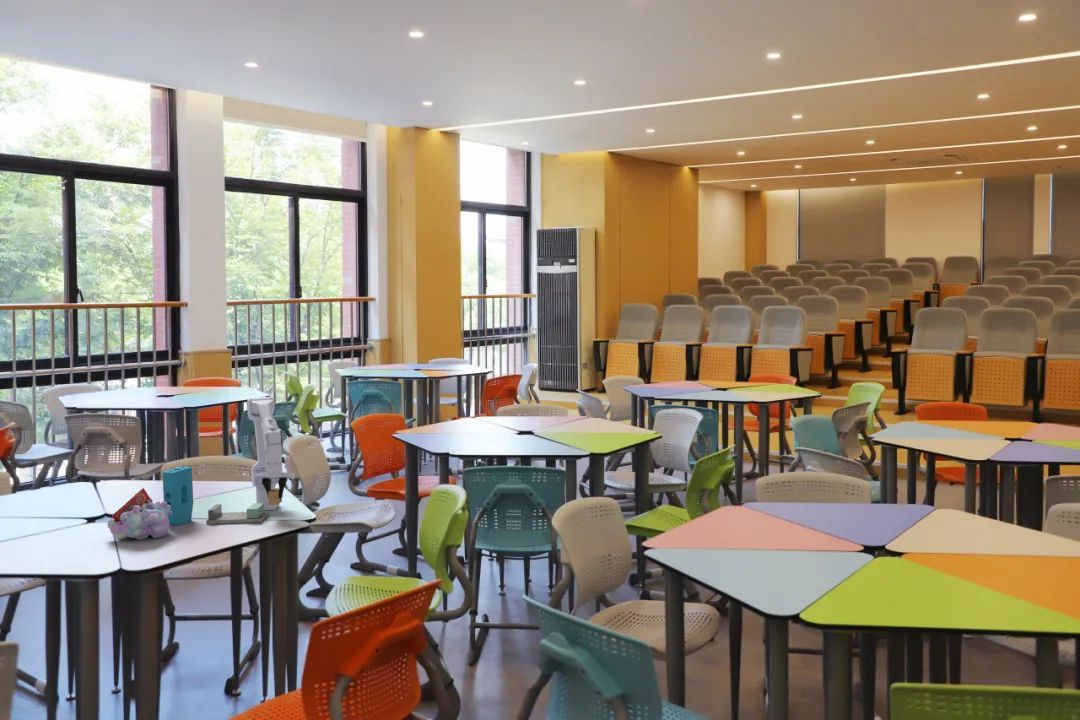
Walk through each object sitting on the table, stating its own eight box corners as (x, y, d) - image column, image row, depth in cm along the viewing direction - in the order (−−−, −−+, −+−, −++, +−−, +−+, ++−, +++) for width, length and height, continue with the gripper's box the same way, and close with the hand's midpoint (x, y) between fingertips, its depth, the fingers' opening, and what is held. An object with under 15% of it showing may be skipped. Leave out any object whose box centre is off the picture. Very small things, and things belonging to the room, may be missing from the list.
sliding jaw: (253, 512, 352) (253, 503, 352) (264, 511, 352) (264, 502, 352) (246, 518, 342) (246, 509, 342) (257, 517, 342) (257, 508, 342)
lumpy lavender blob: (154, 532, 310) (165, 482, 319) (90, 531, 310) (102, 481, 318) (174, 549, 328) (184, 501, 337) (113, 548, 328) (124, 500, 336)
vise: (216, 516, 352) (215, 503, 352) (269, 515, 353) (268, 502, 353) (206, 524, 341) (205, 511, 340) (261, 522, 342) (260, 509, 341)
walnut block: (272, 501, 350) (272, 488, 350) (281, 501, 350) (281, 488, 350) (268, 505, 344) (268, 491, 344) (278, 504, 344) (277, 491, 344)
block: (175, 526, 338) (173, 472, 336) (163, 526, 339) (161, 472, 337) (195, 519, 349) (192, 466, 348) (183, 518, 350) (181, 466, 349)
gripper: (251, 464, 342) (253, 500, 343) (291, 463, 343) (292, 499, 344) (256, 461, 349) (257, 496, 350) (295, 460, 350) (296, 495, 351)
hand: (275, 498), depth 347 cm, fingers closed on walnut block, 3 cm apart
